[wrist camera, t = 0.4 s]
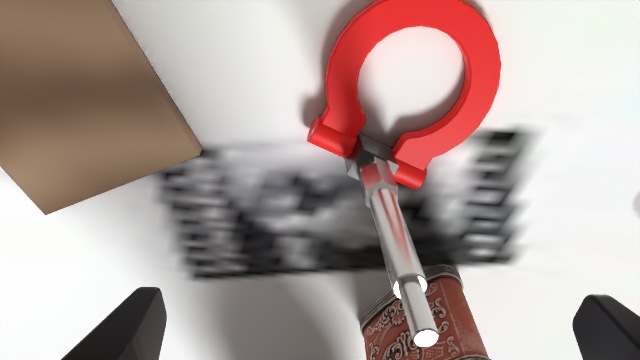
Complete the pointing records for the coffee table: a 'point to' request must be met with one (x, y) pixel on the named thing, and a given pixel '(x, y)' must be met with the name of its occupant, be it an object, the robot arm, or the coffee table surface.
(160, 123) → the walnut plate
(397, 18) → the tow hook
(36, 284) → the coffee table surface
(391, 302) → the red-brown boxy piece
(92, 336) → the robot arm
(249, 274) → the coffee table surface
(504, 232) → the coffee table surface
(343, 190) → the coffee table surface
